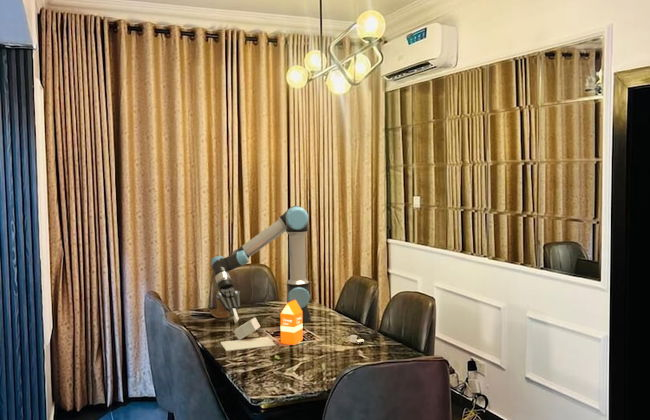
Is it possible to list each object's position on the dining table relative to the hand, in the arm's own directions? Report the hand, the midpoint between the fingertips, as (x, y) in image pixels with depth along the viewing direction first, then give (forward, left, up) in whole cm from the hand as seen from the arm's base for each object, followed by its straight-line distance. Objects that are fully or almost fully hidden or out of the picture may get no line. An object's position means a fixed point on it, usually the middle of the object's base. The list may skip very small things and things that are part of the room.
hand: (236, 320), depth 286 cm
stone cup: (-2, -49, -9) cm, 50 cm away
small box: (-1, 0, -7) cm, 7 cm away
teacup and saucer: (-52, +32, -10) cm, 62 cm away
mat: (-3, +12, -9) cm, 15 cm away
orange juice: (-24, +15, -9) cm, 30 cm away
